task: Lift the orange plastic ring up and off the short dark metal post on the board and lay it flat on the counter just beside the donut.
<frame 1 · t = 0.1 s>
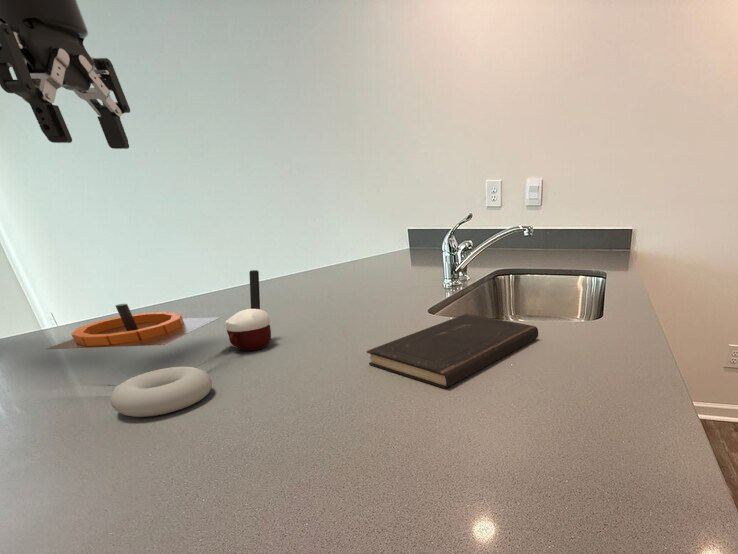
hand: (92, 145, 52), 30 cm above the countertop, tool pointing down, fingers open, 8 cm apart
donut: (169, 403, 52), on the countertop
hardcover book: (459, 352, 66), on the countertop
post board: (145, 339, 75), on the countertop
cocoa: (257, 347, 70), on the countertop
ring: (133, 331, 74), point 1 cm above the countertop, touching post board
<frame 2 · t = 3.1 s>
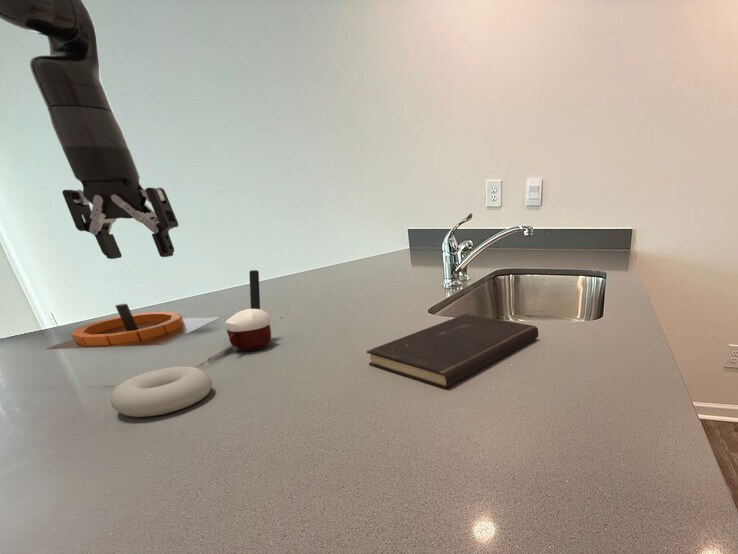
hand: (141, 257, 68), 14 cm above the countertop, tool pointing down, fingers open, 8 cm apart
nothing on the countertop moved.
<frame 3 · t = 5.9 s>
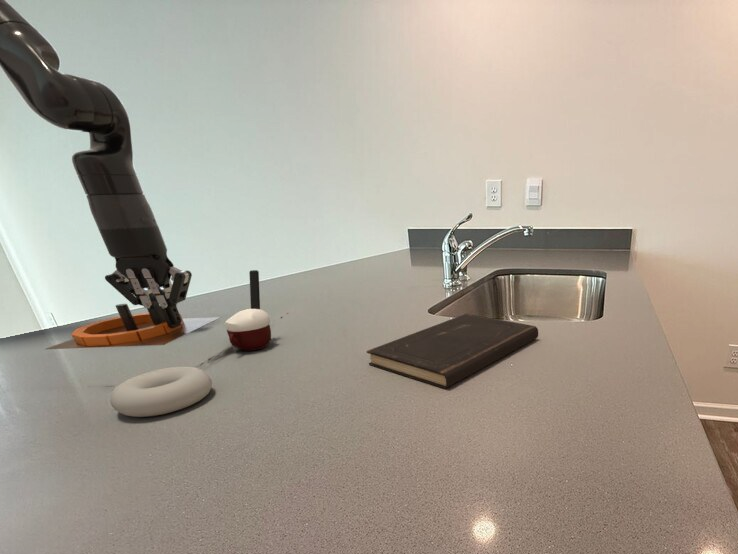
hand: (169, 326, 74), 2 cm above the countertop, tool pointing down, fingers closed on ring, 1 cm apart
ring: (133, 331, 74), point 1 cm above the countertop, touching gripper, post board
everything else where it was.
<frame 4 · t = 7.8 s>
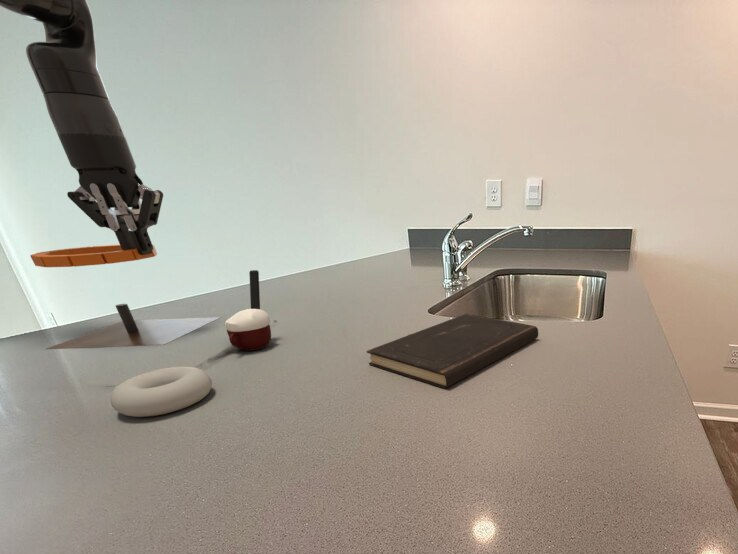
hand: (139, 253, 68), 15 cm above the countertop, tool pointing down, fingers closed on ring, 1 cm apart
ring: (100, 259, 68), point 14 cm above the countertop, touching gripper
everything else where it was.
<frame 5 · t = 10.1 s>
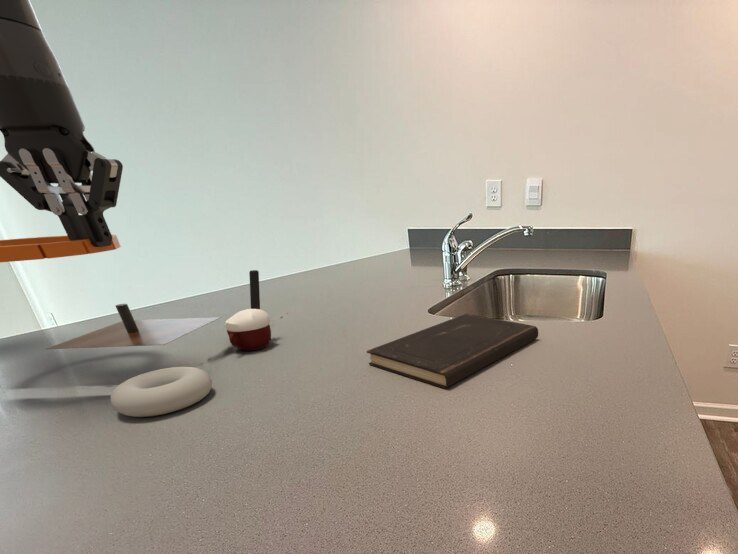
hand: (94, 246, 52), 18 cm above the countertop, tool pointing down, fingers closed on ring, 1 cm apart
ring: (43, 253, 52), point 17 cm above the countertop, touching gripper
everything else where it was.
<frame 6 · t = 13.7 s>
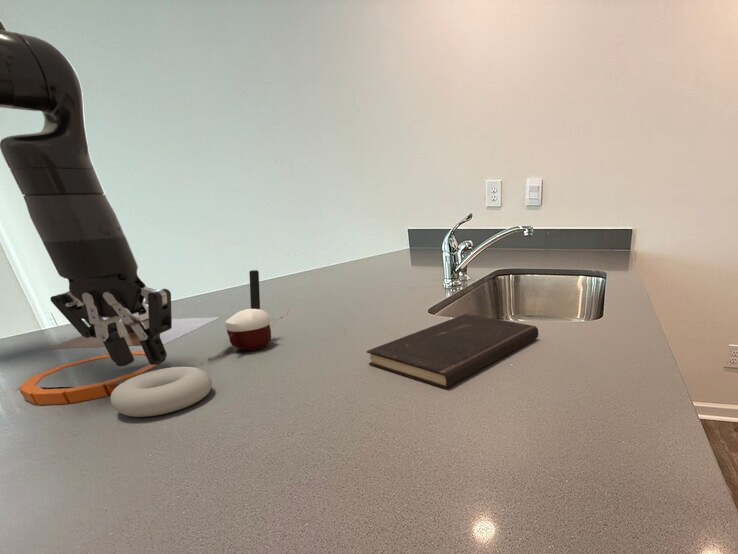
hand: (142, 362, 58), 2 cm above the countertop, tool pointing down, fingers open, 4 cm apart
ring: (102, 380, 58), on the countertop
everything else where it was.
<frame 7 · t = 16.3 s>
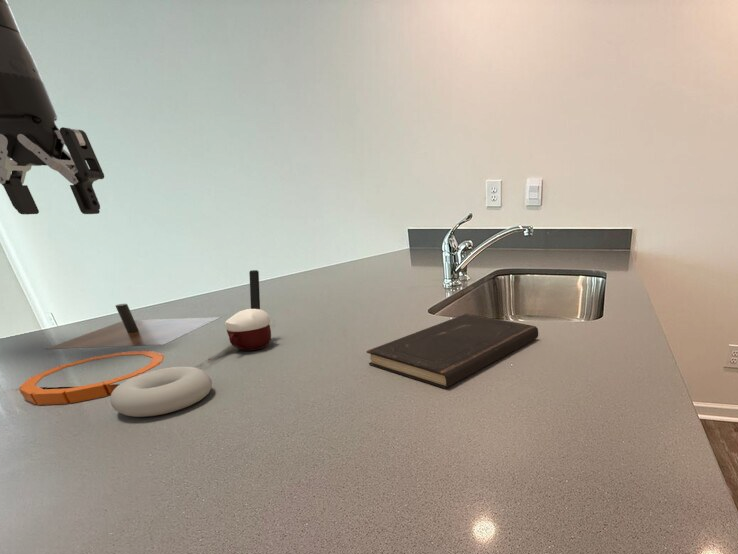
hand: (60, 214, 58), 22 cm above the countertop, tool pointing down, fingers open, 8 cm apart
nothing on the countertop moved.
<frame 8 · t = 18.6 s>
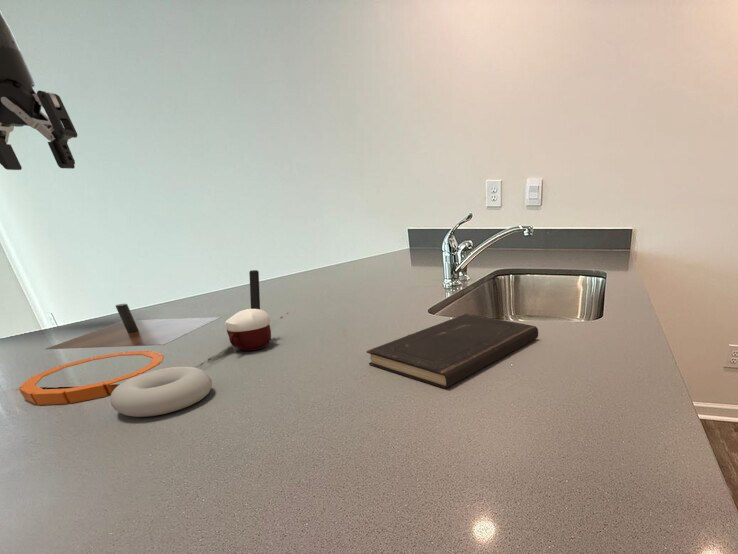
hand: (40, 169, 67), 28 cm above the countertop, tool pointing down, fingers open, 8 cm apart
nothing on the countertop moved.
at the end: ring inside the target area on the countertop beside the donut (0.1 cm from its centre), on the countertop; ring on the countertop; ring tilted 0° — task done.
